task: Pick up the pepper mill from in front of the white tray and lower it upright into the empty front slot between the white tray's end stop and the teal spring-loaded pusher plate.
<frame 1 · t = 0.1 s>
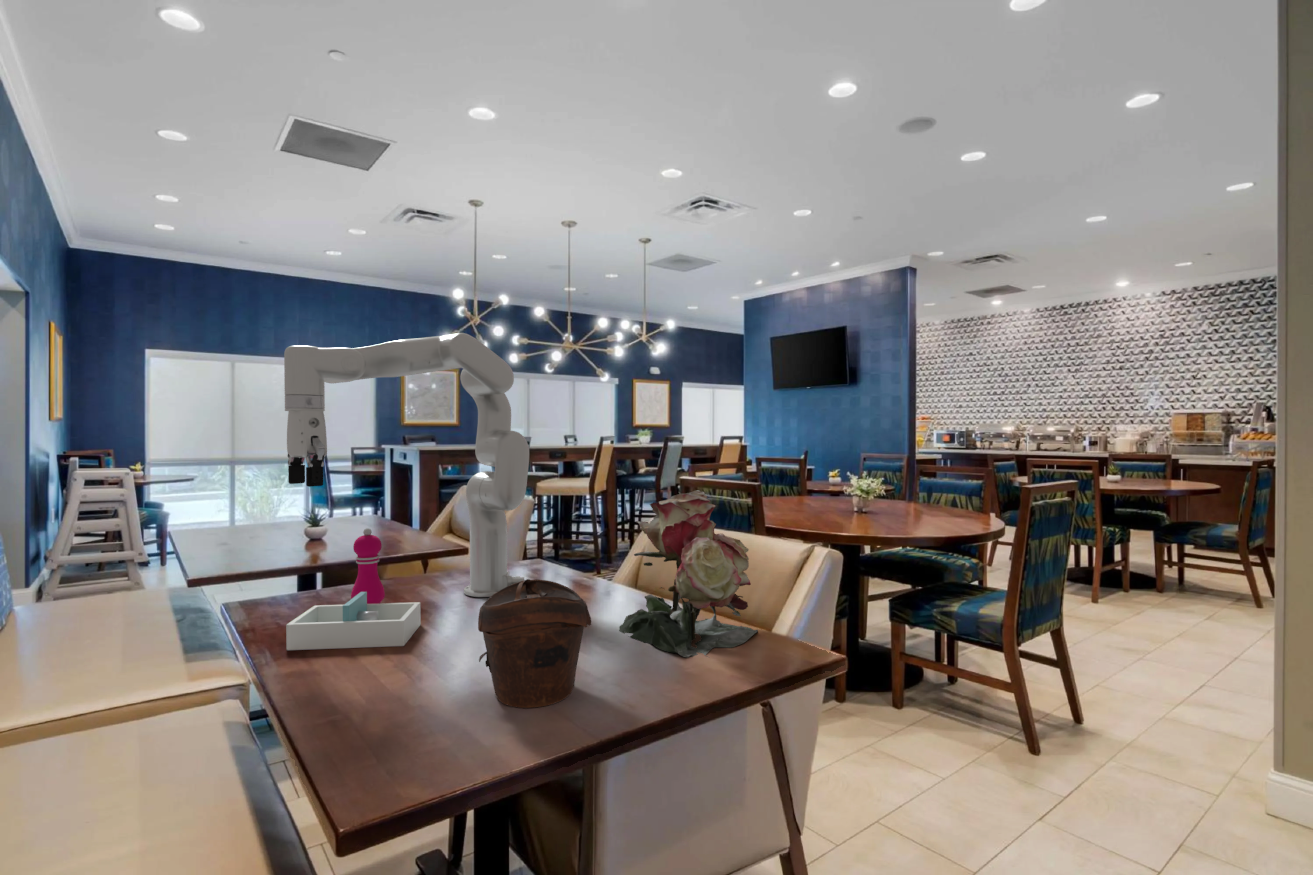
hand: (305, 484, 142), 31 cm above the table, tool pointing down, fingers open, 9 cm apart
pepper mill: (368, 615, 154), on the table
rose bouquet: (696, 634, 140), on the table
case: (533, 692, 109), on the table
white tray: (357, 636, 137), on the table
pusher: (364, 614, 138), point 5 cm above the table, slide at 0.0 cm
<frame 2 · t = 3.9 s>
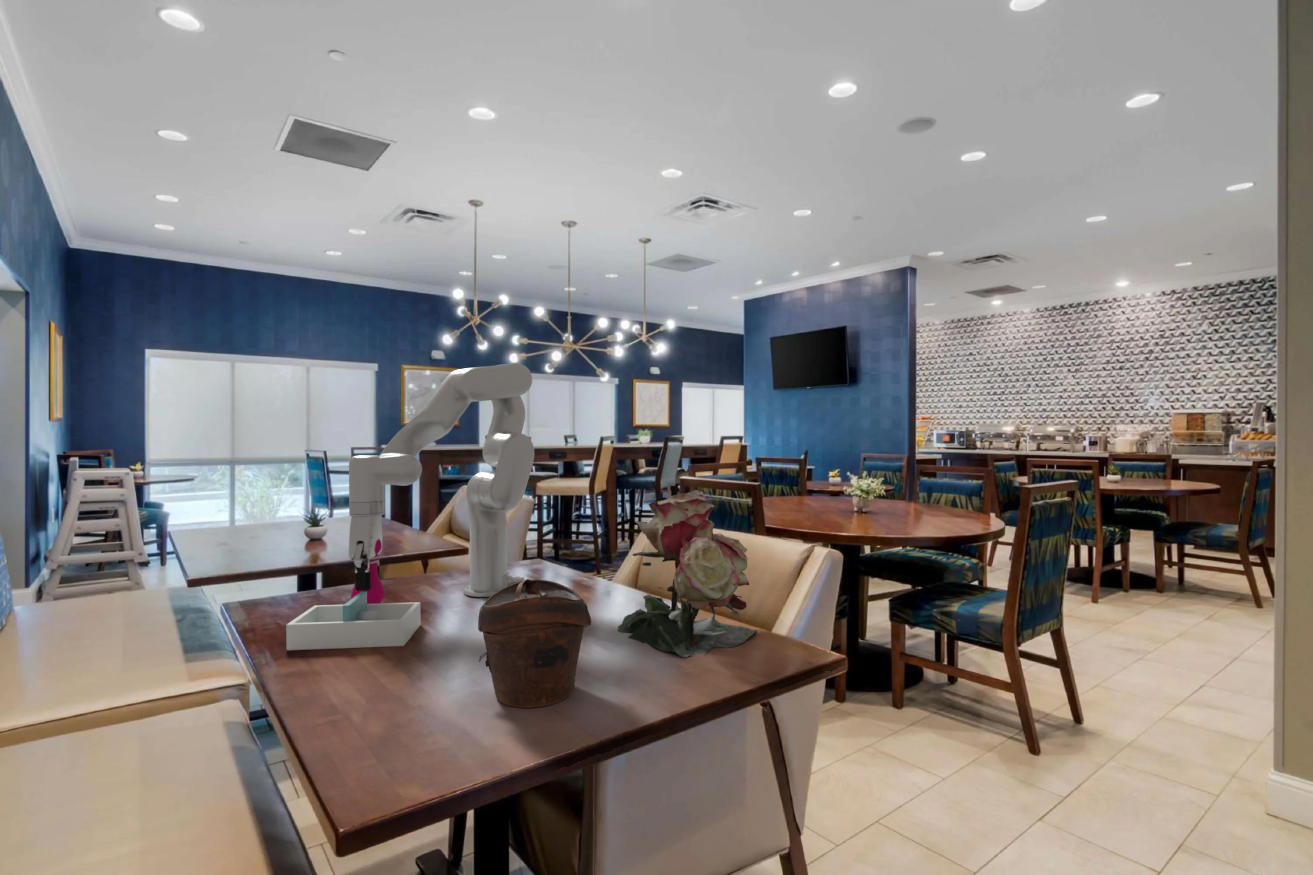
hand: (367, 585, 154), 7 cm above the table, tool pointing down, fingers closed on pepper mill, 5 cm apart
pepper mill: (368, 615, 154), on the table, touching gripper
everything else where it was.
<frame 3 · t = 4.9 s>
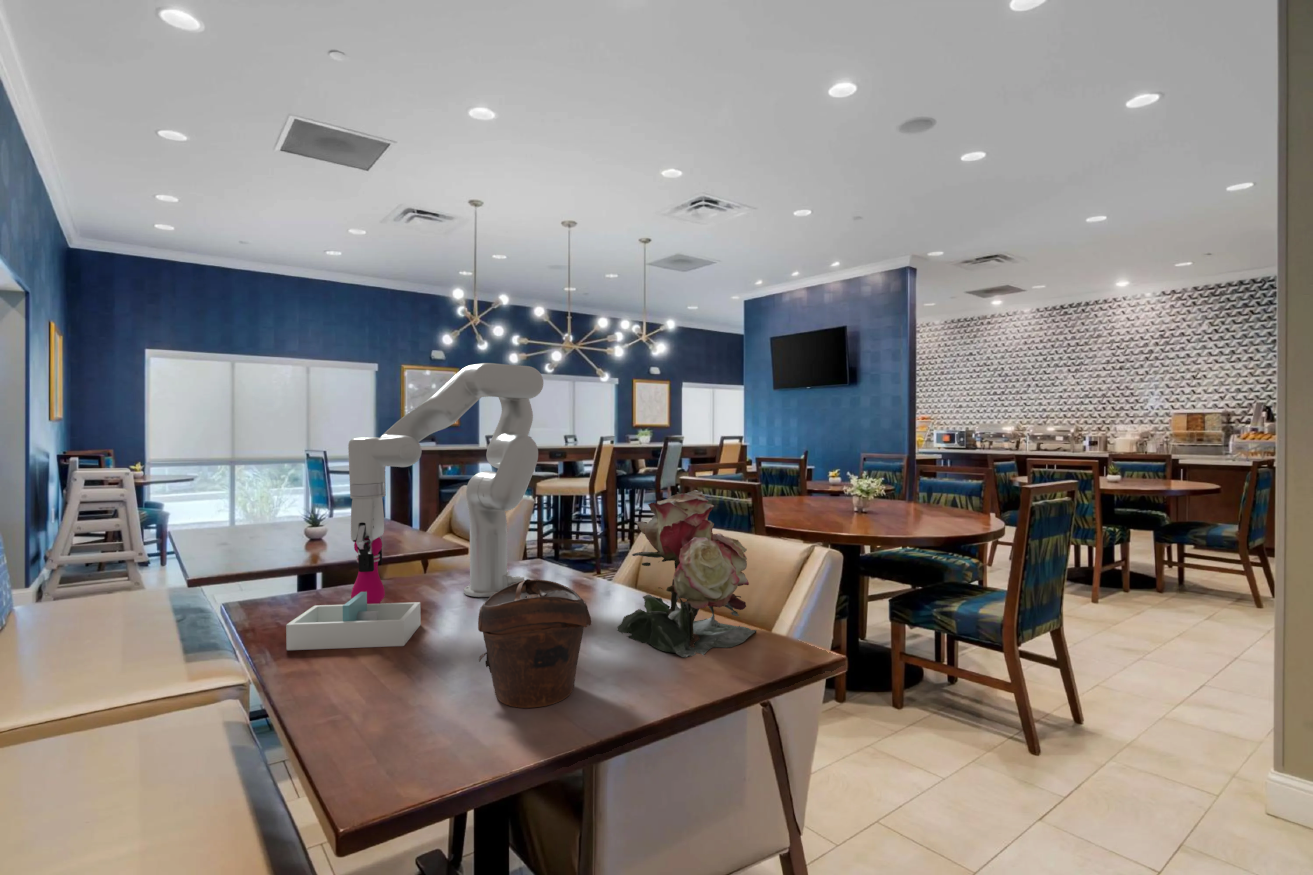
hand: (370, 567, 154), 11 cm above the table, tool pointing down, fingers closed on pepper mill, 5 cm apart
pepper mill: (368, 614, 154), on the table, touching gripper
everything else where it was.
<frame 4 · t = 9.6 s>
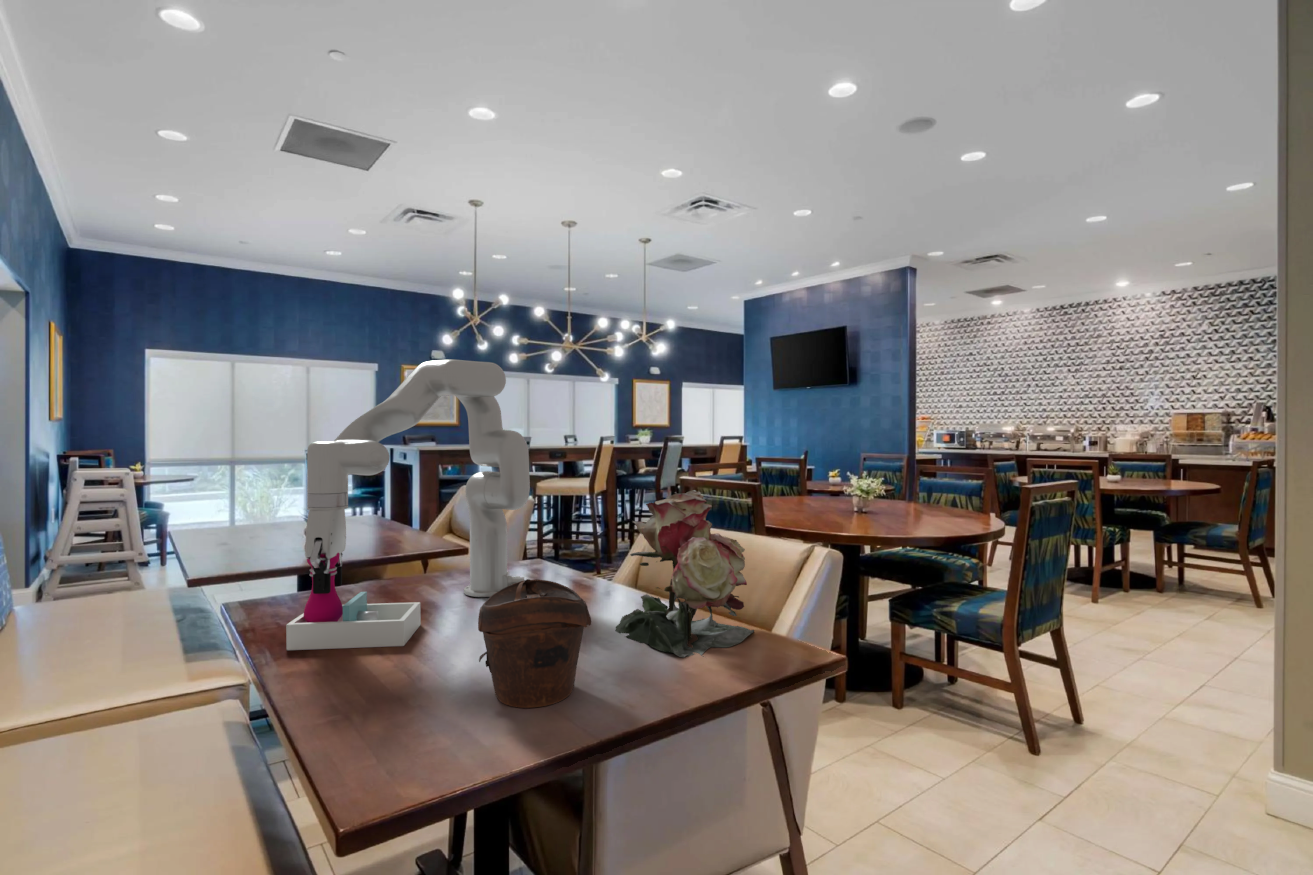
hand: (327, 588, 136), 10 cm above the table, tool pointing down, fingers open, 5 cm apart
pepper mill: (323, 634, 136), point 1 cm above the table, touching white tray
everything else where it was.
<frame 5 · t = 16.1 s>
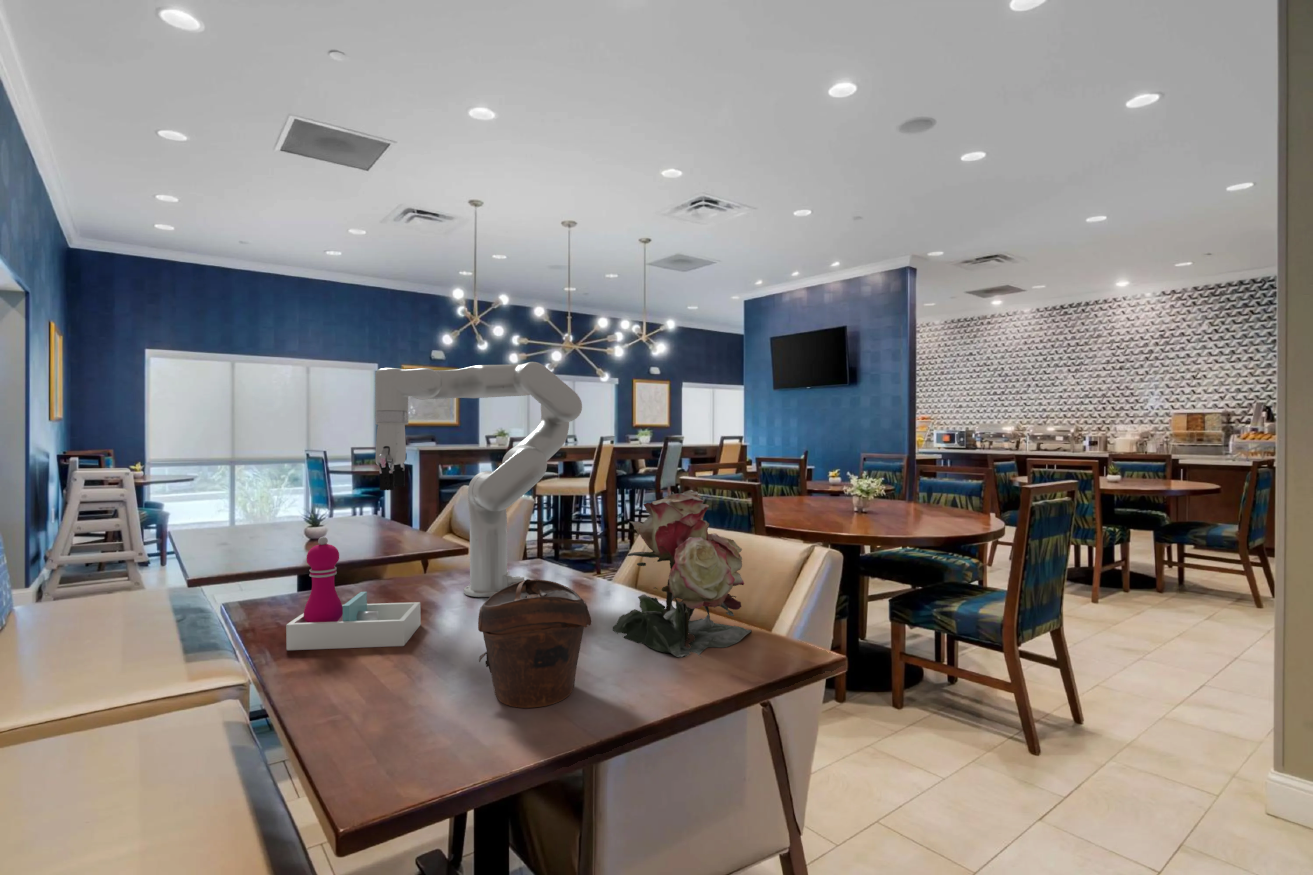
hand: (392, 488, 164), 28 cm above the table, tool pointing down, fingers open, 9 cm apart
at the end: pepper mill 1.1 cm from the target spot on the white tray, point 0.8 cm above the white tray's base; pepper mill tilted 0°; pusher slide at 0.0 cm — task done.
